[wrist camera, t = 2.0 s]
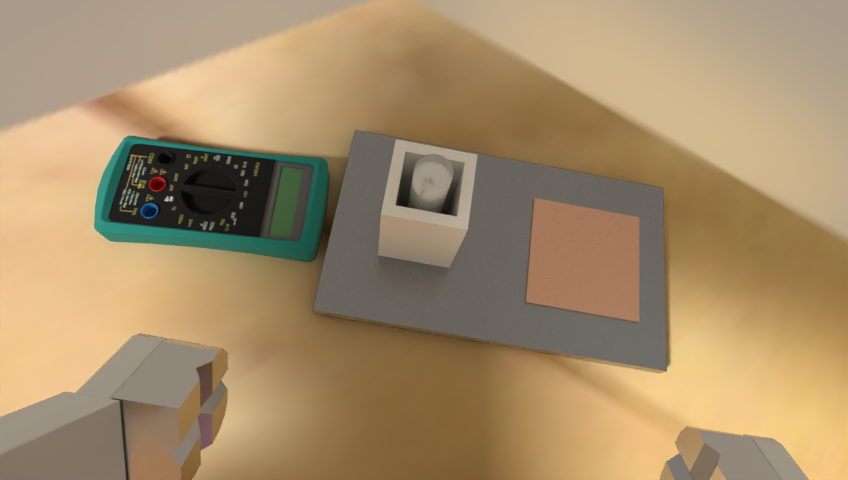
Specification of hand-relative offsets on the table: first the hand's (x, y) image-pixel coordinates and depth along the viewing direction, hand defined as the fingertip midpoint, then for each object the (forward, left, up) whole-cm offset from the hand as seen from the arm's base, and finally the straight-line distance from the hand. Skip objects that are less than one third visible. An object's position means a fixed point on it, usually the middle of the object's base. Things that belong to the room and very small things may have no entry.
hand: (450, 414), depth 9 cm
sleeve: (0, +14, -25) cm, 28 cm away
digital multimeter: (-14, +13, -26) cm, 33 cm away
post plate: (+6, +14, -26) cm, 30 cm away
